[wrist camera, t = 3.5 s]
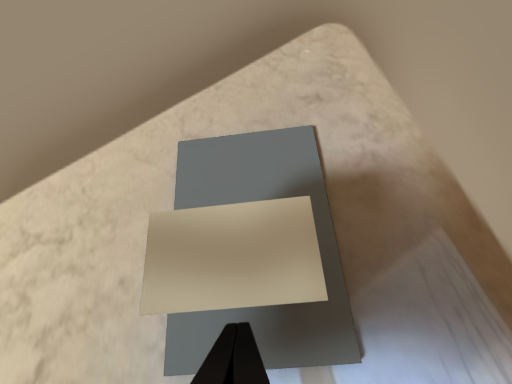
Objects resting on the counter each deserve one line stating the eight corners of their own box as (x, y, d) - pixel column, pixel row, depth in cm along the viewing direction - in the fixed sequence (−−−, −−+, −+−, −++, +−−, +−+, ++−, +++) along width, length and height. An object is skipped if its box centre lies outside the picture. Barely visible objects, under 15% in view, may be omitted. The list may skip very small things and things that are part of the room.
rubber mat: (359, 361, 14) (361, 363, 13) (166, 374, 14) (163, 376, 14) (311, 128, 20) (312, 125, 20) (180, 144, 21) (178, 141, 21)
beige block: (306, 300, 15) (328, 300, 8) (207, 309, 15) (139, 315, 8) (298, 242, 16) (309, 195, 9) (208, 251, 17) (149, 212, 9)
